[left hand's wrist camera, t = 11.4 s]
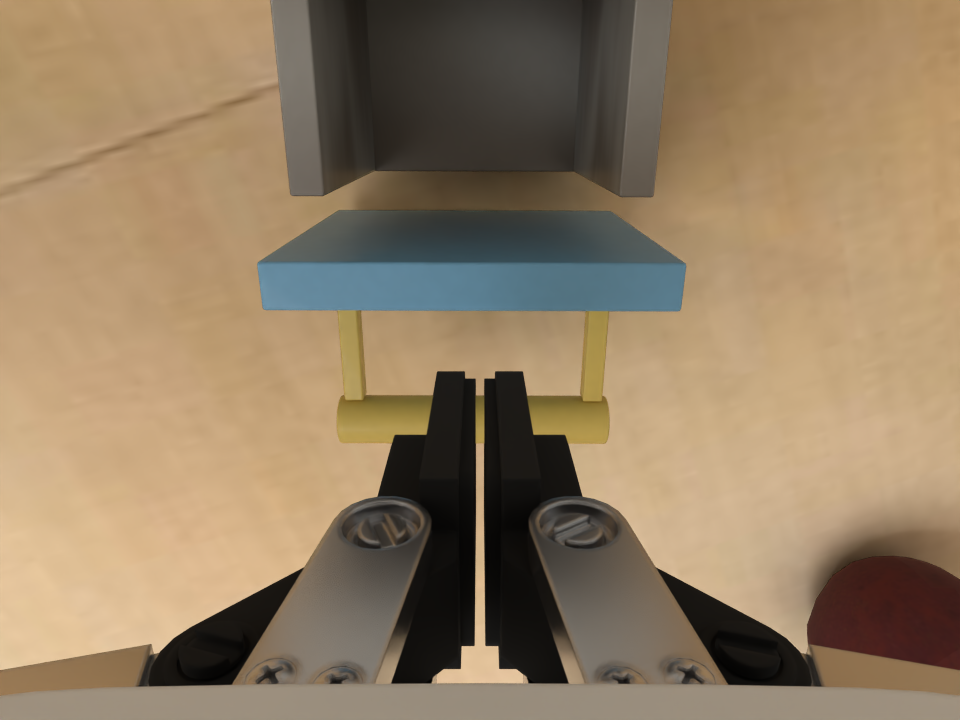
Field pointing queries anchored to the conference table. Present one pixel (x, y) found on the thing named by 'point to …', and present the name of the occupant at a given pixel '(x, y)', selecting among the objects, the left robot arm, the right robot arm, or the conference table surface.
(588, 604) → the left robot arm
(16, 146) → the conference table surface
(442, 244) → the drawer
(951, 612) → the potato
